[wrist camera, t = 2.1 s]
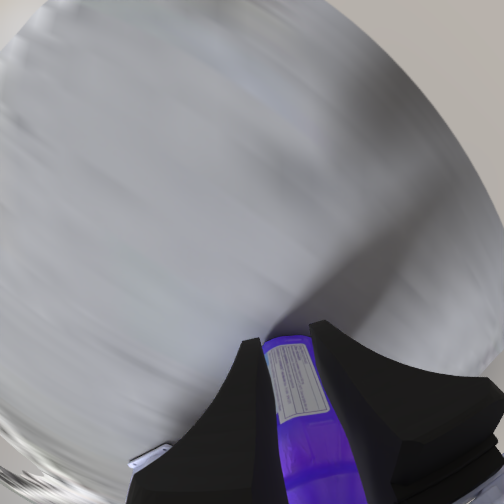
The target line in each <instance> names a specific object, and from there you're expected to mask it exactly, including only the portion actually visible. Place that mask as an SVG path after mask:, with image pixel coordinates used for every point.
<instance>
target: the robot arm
mask: <svg viewBox="0 0 504 504" xmlns="http://www.w3.org/2000/svg"><path fill="white" fill-rule="evenodd" d="M309 327H310V333H311V339H312V345H313V351H314V357H315V363H316V367H317V370H318V373H319V376H320V379H321V382H322V385H323V388H324V390H325V392H326V394H327V396H328V398H329V400H330V403H331V405H332V407H333V409H334V411H335V413H336V415H337V417H338V419H339V421H340V423H341V425H342V427H343V429H344V432H345V434H346V437H347V439H348V442H349V445H350V448H351V451H352V454H353V457H354V460H355V463H356V466H357V469H358V472H359V476H360V479H361V482H362V486H363V489H364V493H365V496H366V500H367V503H368V504H466V503H468V502H469V501H471V500H472V499H474V498H475V499H474V500H473V501H471V502H470V503H469V504H504V453H503V454H501V453H500V452H499V450H498V449H497V448H496V446H495V445H496V444H497V443H498V439H497V438H496V437H495V435H494V434H493V432H494V430H495V429H496V427H497V425H498V424H499V422H500V420H501V418H502V416H503V414H504V393H503V392H502V391H501V390H500V389H499V388H498V387H497V386H496V385H495V384H494V383H493V382H492V381H491V380H490V379H489V378H488V377H463V376H453V375H446V374H439V373H434V372H430V371H425V370H422V369H418V368H414V367H411V366H408V365H405V364H402V363H399V362H397V361H394V360H391V359H389V358H386V357H384V356H382V355H380V354H378V353H376V352H374V351H372V350H370V349H368V348H367V347H365V346H363V345H361V344H360V343H358V342H357V341H355V340H353V339H352V338H350V337H349V336H347V335H346V334H344V333H343V332H341V331H340V330H339V329H337V328H336V327H334V326H333V325H332V324H330V323H329V322H328V321H326V320H323V321H319V322H316V323H312V324H309ZM128 466H129V467H131V468H133V473H132V476H131V480H130V484H129V488H128V492H127V496H126V504H289V502H288V497H287V492H286V487H285V482H284V477H283V472H282V466H281V461H280V455H279V446H278V431H277V417H276V404H275V396H274V391H273V386H272V381H271V377H270V373H269V370H268V366H267V363H266V359H265V356H264V353H263V349H262V346H261V342H260V339H259V337H258V338H254V339H249V340H245V341H242V343H241V345H240V348H239V350H238V353H237V356H236V358H235V361H234V363H233V365H232V367H231V369H230V371H229V374H228V376H227V378H226V380H225V381H224V383H223V385H222V387H221V388H220V390H219V392H218V394H217V395H216V397H215V399H214V400H213V402H212V403H211V405H210V406H209V407H208V409H207V410H206V411H205V413H204V414H203V415H202V417H201V418H200V419H199V420H198V421H197V423H196V424H195V425H194V426H193V427H192V428H191V429H190V430H189V431H188V433H187V434H186V435H185V436H184V437H183V438H182V439H180V440H179V441H178V442H177V443H176V444H175V445H174V446H171V445H169V444H164V445H162V446H160V447H159V448H157V449H155V450H153V451H151V452H149V453H147V454H145V455H143V456H141V457H139V458H137V459H135V460H133V461H131V462H129V463H128Z"/></svg>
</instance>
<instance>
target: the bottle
mask: <svg viewBox="0 0 504 504" xmlns="http://www.w3.org/2000/svg"><path fill="white" fill-rule="evenodd" d="M262 349H263V353H264V356H265V359H266V363H267V366H268V370H269V373H270V377H271V381H272V386H273V391H274V396H275V404H276V417H277V431H278V446H279V455H280V461H281V466H282V472H283V477H284V482H285V487H286V492H287V497H288V502H289V504H368V503H367V500H366V496H365V493H364V489H363V486H362V482H361V479H360V476H359V472H358V469H357V466H356V463H355V460H354V457H353V454H352V451H351V448H350V445H349V442H348V439H347V437H346V434H345V432H344V429H343V427H342V425H341V423H340V421H339V419H338V417H337V415H336V413H335V411H334V409H333V407H332V405H331V403H330V400H329V398H328V396H327V394H326V392H325V390H324V388H323V385H322V382H321V379H320V376H319V373H318V370H317V367H316V363H315V357H314V351H313V345H312V339H311V337H307V336H303V335H293V336H281V337H277V338H274V339H271V340H270V341H267V342H265V343H264V345H263V346H262Z"/></svg>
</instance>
